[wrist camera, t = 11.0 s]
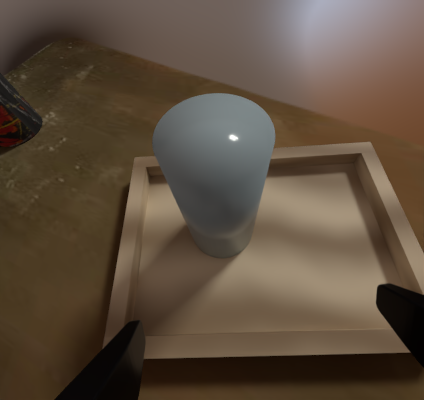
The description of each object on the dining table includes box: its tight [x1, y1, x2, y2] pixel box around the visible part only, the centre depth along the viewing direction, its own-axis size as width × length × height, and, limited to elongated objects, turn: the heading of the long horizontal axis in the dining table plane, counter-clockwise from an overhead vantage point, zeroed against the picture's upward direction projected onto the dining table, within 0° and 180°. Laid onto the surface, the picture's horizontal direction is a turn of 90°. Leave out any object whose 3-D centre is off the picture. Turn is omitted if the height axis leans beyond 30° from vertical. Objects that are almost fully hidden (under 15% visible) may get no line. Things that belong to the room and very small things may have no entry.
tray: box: [102, 142, 424, 359], centre depth 18 cm, size 16×22×2 cm
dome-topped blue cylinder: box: [152, 93, 275, 258], centre depth 14 cm, size 5×5×11 cm
